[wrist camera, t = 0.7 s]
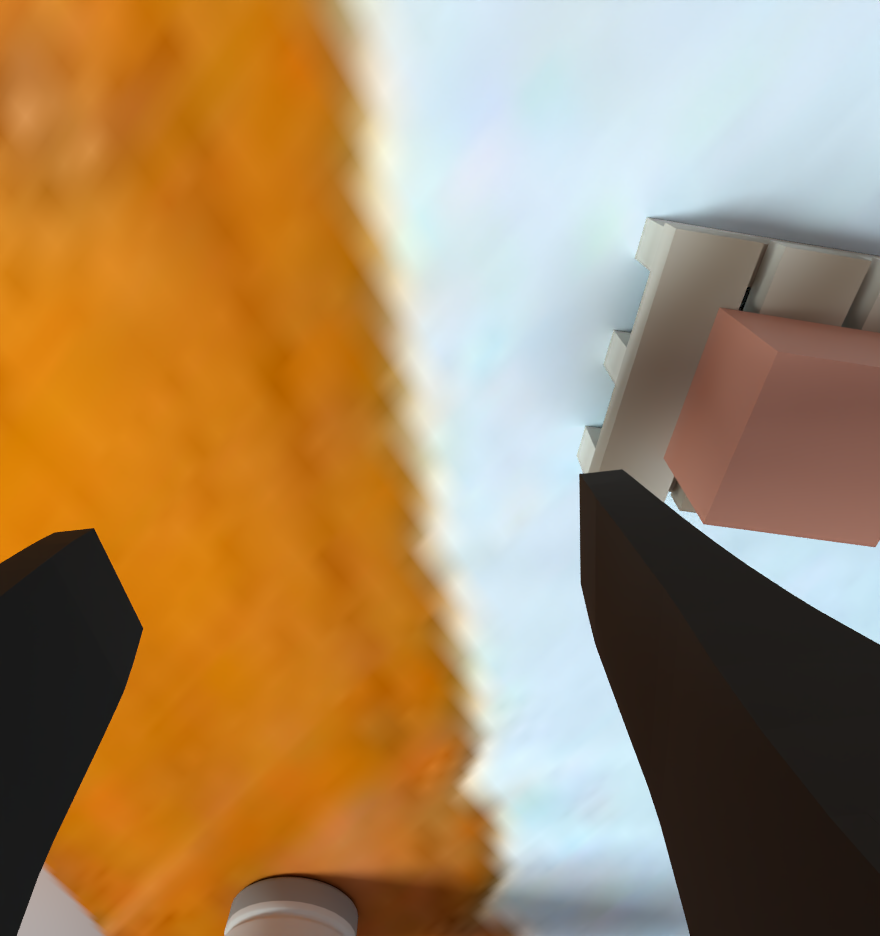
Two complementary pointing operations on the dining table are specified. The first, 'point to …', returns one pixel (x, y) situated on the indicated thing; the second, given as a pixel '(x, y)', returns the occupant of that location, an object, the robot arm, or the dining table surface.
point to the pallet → (709, 329)
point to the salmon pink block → (783, 429)
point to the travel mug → (291, 909)
